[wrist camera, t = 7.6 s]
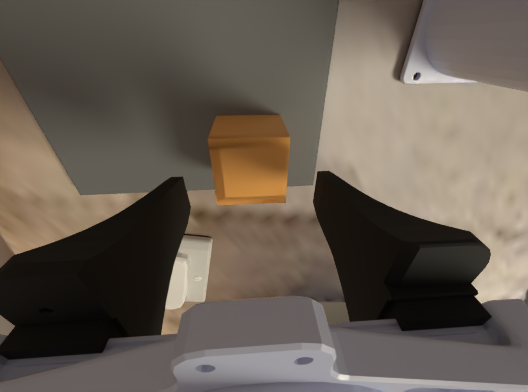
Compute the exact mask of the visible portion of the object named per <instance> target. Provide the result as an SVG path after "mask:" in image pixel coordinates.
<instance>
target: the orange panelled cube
mask: <svg viewBox="0 0 528 392" xmlns="http://www.w3.org/2000/svg"><path fill="white" fill-rule="evenodd" d="M208 145H209V152H210V158H211V165H212V172H213V179H214V185H215V192H216V199H217V205H235V204H261V203H286V189H287V176H288V162H289V148H290V136H289V133H288V131H287V129H286V127H285V124H284V122H283V120H282V118H281V115H231V116H216V118H215V121H214V123H213V126H212V129H211V131H210V134H209V137H208Z"/></svg>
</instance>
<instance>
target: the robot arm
mask: <svg viewBox="0 0 528 392" xmlns="http://www.w3.org/2000/svg"><path fill="white" fill-rule="evenodd" d="M415 73H417V77H416V78H415V79H413V76H414V74H415ZM400 80H401V82H402V83H404V84H439V83H486V84H491V85H496V86H501V87H506V88H511V89H516V90H521V91H527V92H528V0H424V1H423V4H422V7H421V11H420V14H419V17H418V20H417V24H416V27H415V30H414V33H413V37H412V40H411V43H410V47H409V50H408V53H407V56H406V60H405V63H404V66H403V69H402V73H401V76H400ZM313 204H314V208H315V212H316V215H317V218H318V221H319V223H320V226H321V228H322V230H323V233H324V235H325V237H326V240H327V242H328V245H329V247H330V249H331V252H332V255H333V258H334V261H335V265H336V268H337V271H338V275H339V279H340V282H341V286H342V290H343V294H344V298H345V302H346V306H347V310H348V315H349V320H350V322H341V323H327V319H326V316H325V312H324V309H323V305H321V304H320V303H318V302H316V301H314V300H312V299H311V298H309V297H300V296H282V297H266V298H250V299H234V300H219V301H209V302H205V303H200V304H196V305H194V306H193V307H191V308H190V309H189V310H187V311H186V312H184V313H183V314H182V316H181V320H180V325H179V329H178V333H177V334H168V335H161V331H162V324H163V318H164V312H165V306H166V300H167V295H168V290H169V285H170V280H171V275H172V271H173V266H174V263H175V259H176V256H177V253H178V250H179V247H180V244H181V242H182V239H183V236H184V233H185V230H186V227H187V224H188V219H189V214H190V208H191V206H190V202H189V198H188V194H187V190H186V186H185V182H184V178H183V177H170V178H169V179H167V180H166V181H164V182H163V183H162V184H160V185H159V186H158V187H156V188H155V189H154V190H152V191H151V192H150V193H148V194H147V195H146V196H144V197H143V198H141V199H140V200H138V201H137V202H135V203H134V204H132V205H131V206H129V207H128V208H126V209H124V210H123V211H121V212H119V213H118V214H116V215H114V216H112V217H110V218H109V219H107V220H105V221H103V222H100V223H98V224H96V225H94V226H92V227H90V228H88V229H86V230H83V231H81V232H79V233H76V234H74V235H71V236H69V237H66V238H64V239H61V240H58V241H56V242H53V243H50V244H47V245H44V246H41V247H38V248H35V249H32V250H29V251H26V252H23V253H20V254H16V255H14V256H12V257H11V258H10V259H9V260H8V261H7V262H6V263H5V264H4V265H3V266H2V267H1V268H0V315H1V316H3V317H4V318H5V319H7V320H8V321H9V322H11V323H12V324H13V325H15V327H14V329H13V330H12V331H11V332H10V334H9V335H8V336H6V335H1V334H0V392H528V305H527V304H526V303H524V302H523V301H522V300H521V299H506V300H492V301H487V302H485V303H482V304H481V303H480V302H479V301H478V300H477V299H476V298H475V296H476V295H477V294H478V291H477V290H476V289H475V287H474V286H473V285H472V284H471V283H472V282H473V281H474V279H475V278H476V277H477V276H478V275H479V274H480V273H481V272H482V271H483V269H484V268H485V267H486V266H487V264H488V263H489V260H490V256H491V253H490V249H489V248H488V247H487V246H485V245H484V244H483V243H482V242H481V241H480V240H479V239H478V238H477V237H476V236H475V235H473V234H472V233H471V232H470V231H465V230H461V229H457V228H453V227H449V226H445V225H441V224H437V223H434V222H431V221H427V220H424V219H421V218H418V217H415V216H412V215H409V214H407V213H404V212H401V211H399V210H396V209H394V208H392V207H389V206H387V205H385V204H383V203H381V202H379V201H377V200H375V199H373V198H371V197H369V196H368V195H366V194H364V193H362V192H361V191H359V190H357V189H356V188H354V187H353V186H351V185H350V184H348V183H347V182H345V181H344V180H342V179H341V178H339V177H338V176H336V175H335V174H333V173H331V172H330V171H318V172H317V179H316V185H315V192H314V199H313Z"/></svg>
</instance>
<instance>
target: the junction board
mask: <svg viewBox="0 0 528 392" xmlns="http://www.w3.org/2000/svg"><path fill="white" fill-rule="evenodd" d="M338 4H339V0H0V59H1V61H2V62H3V64H4V66H5V68H6V69H7V71H8V73H9V74H10V76H11V78H12V79H13V81H14V83H15V85H16V86H17V88H18V90H19V91H20V93H21V95H22V96H23V98H24V100H25V102H26V103H27V105H28V107H29V108H30V110H31V112H32V114H33V115H34V117H35V119H36V120H37V122H38V124H39V125H40V127H41V129H42V131H43V132H44V134H45V136H46V137H47V139H48V141H49V142H50V144H51V146H52V148H53V149H54V151H55V153H56V154H57V156H58V158H59V160H60V161H61V163H62V165H63V166H64V168H65V170H66V171H67V173H68V175H69V177H70V178H71V180H72V182H73V183H74V185H75V187H76V189H77V190H78V192H79V194H80V195H94V194H117V193H141V192H151V191H152V190H154V189H155V188H156V187H158V186H159V185H160V184H162V183H163V182H164V181H166V180H167V179H169V178H170V177H183V178H184V182H185V186H186V190H187V191H188V190H211V189H215V185H214V179H213V172H212V165H211V158H210V152H209V145H208V137H209V134H210V131H211V129H212V126H213V123H214V121H215V118H216V116H231V115H281V118H282V120H283V122H284V124H285V127H286V129H287V131H288V133H289V136H290V148H289V162H288V176H287V186H305V185H313V181H314V174H315V167H316V160H317V153H318V146H319V139H320V131H321V124H322V117H323V110H324V103H325V96H326V89H327V82H328V75H329V68H330V60H331V53H332V46H333V39H334V32H335V25H336V18H337V11H338Z"/></svg>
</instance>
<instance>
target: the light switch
mask: <svg viewBox="0 0 528 392" xmlns="http://www.w3.org/2000/svg"><path fill="white" fill-rule="evenodd" d="M212 242H213V239H212V238H208V237H198V236H189V235H184V236H183V239H182V242H181V244H180V247H179V250H178V253H177V256H176V259H175V263H174V266H173V271H172V275H171V280H170V285H169V290H168V295H167V300H166V306H165V309H176V308H180V307H181V306H182V304H183V303H184V301H193V302H204V301H205V297H206V289H207V281H208V273H209V265H210V257H211V250H212Z"/></svg>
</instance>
